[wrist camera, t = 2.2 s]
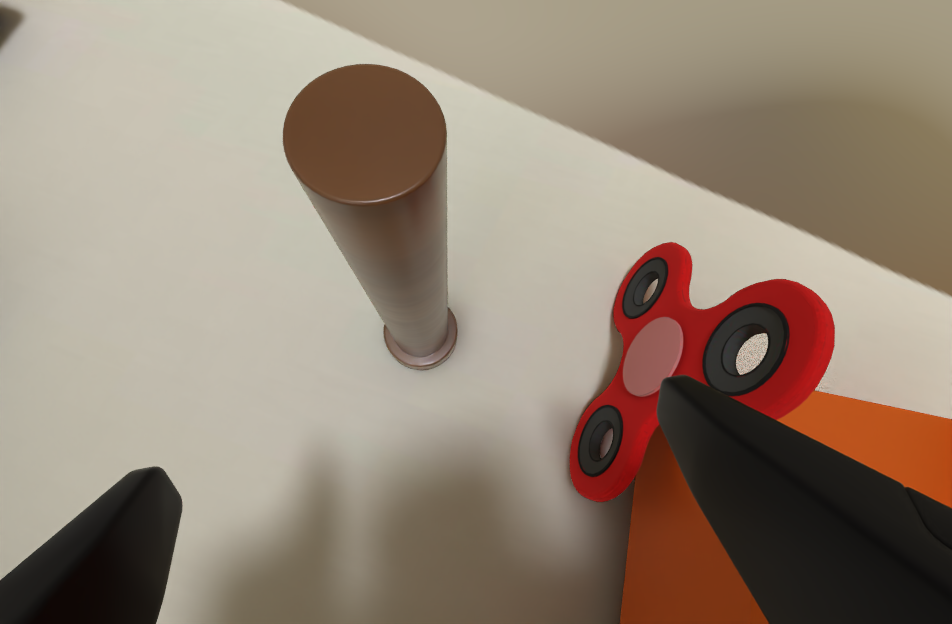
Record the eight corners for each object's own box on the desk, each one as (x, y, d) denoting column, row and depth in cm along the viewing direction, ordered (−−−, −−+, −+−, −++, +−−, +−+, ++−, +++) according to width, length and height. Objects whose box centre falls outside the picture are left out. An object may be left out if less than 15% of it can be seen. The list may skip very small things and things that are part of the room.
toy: (639, 264, 21) (620, 254, 21) (873, 164, 12) (844, 145, 12) (571, 490, 19) (549, 482, 18) (803, 592, 9) (764, 577, 9)
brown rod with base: (457, 369, 20) (480, 232, 6) (386, 371, 19) (240, 234, 6) (456, 300, 20) (471, 40, 7) (386, 301, 20) (259, 36, 6)
